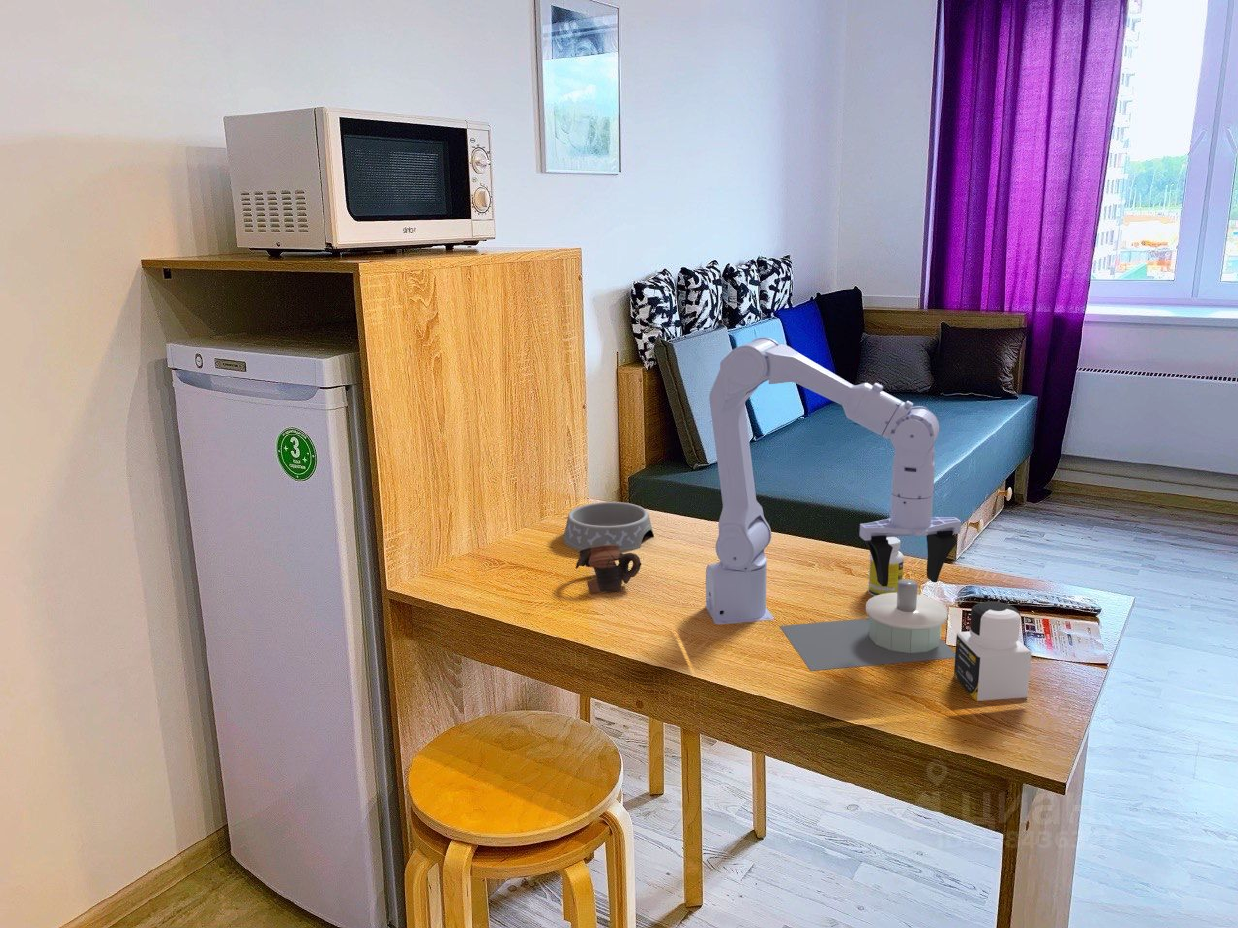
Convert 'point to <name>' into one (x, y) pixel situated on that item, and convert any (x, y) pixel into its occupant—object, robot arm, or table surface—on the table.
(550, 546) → the table surface
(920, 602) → the lid
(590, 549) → the pottery mug
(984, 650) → the medicine bottle
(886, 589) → the supplement bottle
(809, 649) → the mat
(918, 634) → the bowl
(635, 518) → the dog bowl
